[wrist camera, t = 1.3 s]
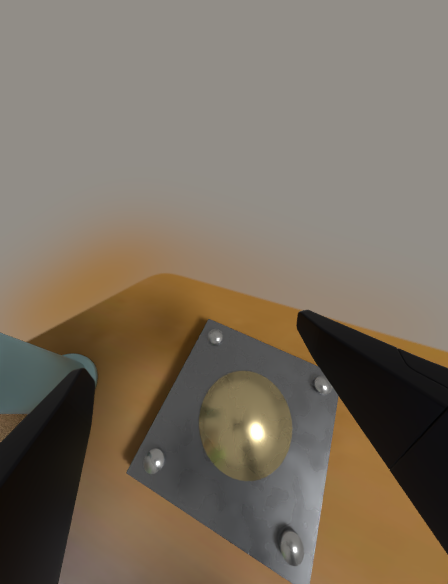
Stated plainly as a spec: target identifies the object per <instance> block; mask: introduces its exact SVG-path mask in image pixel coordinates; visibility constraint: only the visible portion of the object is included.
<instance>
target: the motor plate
mask: <svg viewBox="0 0 448 584" xmlns="http://www.w3.org/2000/svg"><path fill="white" fill-rule="evenodd" d="M337 402H338V394H337V393H336V391H335V390H334V388H333V387H332V385H331V384H330V383H329V381H328V380H327V378H326V377H325V375H324V374H323V372H322V371H321V369H320V368H319V367H318V366H316V365H314V364H311V363H309V362H307V361H304V360H302V359H300V358H298V357H295V356H293V355H291V354H288V353H286V352H284V351H281V350H279V349H277V348H275V347H272V346H270V345H268V344H265V343H263V342H261V341H259V340H256V339H254V338H252V337H249V336H247V335H245V334H243V333H240V332H238V331H236V330H233V329H231V328H229V327H227V326H224V325H222V324H220V323H217V322H215V321H213V320H210V319H208V321H207V323H206V325H205V327H204V329H203V331H202V332H201V334H200V336H199V338H198V340H197V342H196V344H195V346H194V347H193V349H192V351H191V353H190V355H189V357H188V359H187V360H186V362H185V364H184V366H183V368H182V370H181V372H180V373H179V375H178V377H177V379H176V381H175V383H174V385H173V387H172V388H171V390H170V392H169V394H168V396H167V398H166V400H165V401H164V403H163V405H162V407H161V409H160V411H159V413H158V415H157V416H156V418H155V420H154V422H153V424H152V426H151V428H150V429H149V431H148V433H147V435H146V437H145V439H144V441H143V442H142V444H141V446H140V448H139V450H138V452H137V454H136V456H135V457H134V459H133V461H132V463H131V465H130V467H129V469H128V470H127V472H126V473H127V474H128V475H130V476H131V477H133V478H134V479H136V480H137V481H139V482H141V483H142V484H144V485H145V486H147V487H148V488H150V489H151V490H153V491H154V492H156V493H157V494H159V495H160V496H162V497H163V498H165V499H166V500H168V501H169V502H171V503H172V504H174V505H175V506H177V507H178V508H180V509H181V510H183V511H184V512H186V513H187V514H189V515H190V516H192V517H193V518H195V519H196V520H198V521H199V522H201V523H202V524H204V525H205V526H207V527H208V528H210V529H211V530H213V531H214V532H216V533H217V534H219V535H220V536H222V537H223V538H225V539H226V540H228V541H229V542H231V543H232V544H234V545H235V546H237V547H238V548H240V549H241V550H243V551H244V552H246V553H247V554H249V555H250V556H252V557H253V558H255V559H256V560H258V561H259V562H261V563H262V564H264V565H265V566H267V567H268V568H270V569H271V570H273V571H274V572H276V573H277V574H279V575H280V576H282V577H283V578H285V579H286V580H288V581H289V582H291V583H292V584H310V579H311V572H312V566H313V559H314V552H315V546H316V539H317V533H318V526H319V520H320V513H321V507H322V500H323V493H324V487H325V480H326V474H327V467H328V461H329V454H330V448H331V441H332V434H333V428H334V421H335V415H336V408H337Z"/></svg>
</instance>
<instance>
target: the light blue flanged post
mask: <svg viewBox="0 0 448 584" xmlns="http://www.w3.org/2000/svg"><path fill="white" fill-rule="evenodd" d="M79 368H85V369H86V370H87V371H88V372H89V374H90V375H91V376H92V377H93V379H94V381H95V388H96V385H97V379H98V374H97V369H96V366H95V364H94V363H93V362H92V361H91V360H90V359H89V358H87V357H85V356H83V355H80V354H66V355H59V354H56V353H54V352H51V351H48V350H46V349H43V348H40V347H38V346H35V345H32V344H30V343H27V342H24V341H21V340H19V339H16V338H13V337H10V336H8V335H5V334H3V333H0V414H29V413H30V412H31V411H32V410H33V409H34V408H35V407H36V406H37V405H38V404H39V403H40V402H41V401H42V400H43V399H44V398H45V397H46V396H47V395H48V394H49V393H50V392H51V391H52V390H53V389H54V388H55V387H56V386H57V385H58V384H59V383H60V382H61V381H62V380H63V379H64V378H65V377H66V376H67V375H68V374H69V373H70V372H71V371H72V370H75V369H79Z"/></svg>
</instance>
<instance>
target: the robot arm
mask: <svg viewBox="0 0 448 584" xmlns="http://www.w3.org/2000/svg"><path fill="white" fill-rule="evenodd" d="M297 330H298V332H299V334H300V335H301V337H302V339H303V341H304V343H305V345H306V346H307V348H308V350H309V352H310V354H311V356H312V357H313V359H314V361H315V362H316V364H317V365H318V367H319V368H320V369H321V371H322V372H323V374H324V375H325V377H326V378H327V380H328V381H329V383H330V384H331V385H332V387H333V388H334V390H335V391H336V393H337V394H338V396H339V397H340V399H341V400H342V401H343V403H344V404H345V406H346V407H347V409H348V410H349V412H350V413H351V415H352V416H353V417H354V419H355V420H356V422H357V423H358V425H359V426H360V428H361V429H362V431H363V432H364V433H365V435H366V436H367V438H368V439H369V441H370V442H371V444H372V445H373V447H374V448H375V449H376V451H377V452H378V454H379V455H380V457H381V458H382V460H383V461H384V462H385V464H386V465H387V467H388V468H389V469H390V471H391V473H392V474H393V476H394V477H395V479H396V480H397V482H398V483H399V485H400V486H401V487H402V489H403V490H404V492H405V493H406V495H407V496H408V498H409V499H410V501H411V502H412V503H413V505H414V506H415V508H416V509H417V511H418V512H419V514H420V515H421V517H422V518H423V519H424V521H425V522H426V524H427V525H428V527H429V528H430V530H431V531H432V533H433V534H434V535H435V537H436V538H437V540H438V541H439V543H440V544H441V546H442V547H443V548H444V550H445V551H446V553H447V554H448V368H446V367H443V366H441V365H438V364H435V363H433V362H430V361H428V360H425V359H423V358H420V357H418V356H415V355H413V354H411V353H408V352H406V351H404V350H401V349H397V348H396V347H394V346H392V345H389V344H387V343H385V342H382V341H380V340H378V339H375V338H373V337H371V336H368V335H366V334H364V333H361V332H359V331H357V330H354V329H352V328H350V327H347V326H345V325H343V324H340V323H338V322H336V321H333V320H331V319H328V318H326V317H324V316H321V315H319V314H317V313H314V312H312V311H310V310H303V311H300V312H299V313H298V317H297ZM94 394H95V381H94V379H93V377H92V376H91V375H90V374H89V372H88V371H87V370H86V369H85V368H79V369H75V370H72V371H71V372H70V373H69V374H68V375H67V376H66V377H65V378H64V379H63V380H62V381H61V382H60V383H59V384H58V385H57V386H56V387H55V388H54V389H53V390H52V391H51V392H50V393H49V394H48V395H47V396H46V397H45V398H44V399H43V400H42V401H41V402H40V403H39V404H38V405H37V406H36V407H35V408H34V409H33V410H32V411H31V412H30V413H29V414H28V415H27V416H26V417H25V418H24V419H23V420H22V421H21V422H20V423H19V424H18V425H17V426H16V427H15V429H14V430H13V431H12V432H11V433H10V434H9V435H8V436H7V437H6V438H5V439H4V440H3V441H2V442H1V443H0V584H58V581H59V577H60V572H61V567H62V562H63V558H64V553H65V548H66V543H67V539H68V534H69V529H70V524H71V520H72V515H73V510H74V505H75V501H76V496H77V491H78V486H79V482H80V477H81V472H82V468H83V463H84V458H85V453H86V449H87V444H88V439H89V434H90V429H91V423H92V414H93V404H94Z"/></svg>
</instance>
